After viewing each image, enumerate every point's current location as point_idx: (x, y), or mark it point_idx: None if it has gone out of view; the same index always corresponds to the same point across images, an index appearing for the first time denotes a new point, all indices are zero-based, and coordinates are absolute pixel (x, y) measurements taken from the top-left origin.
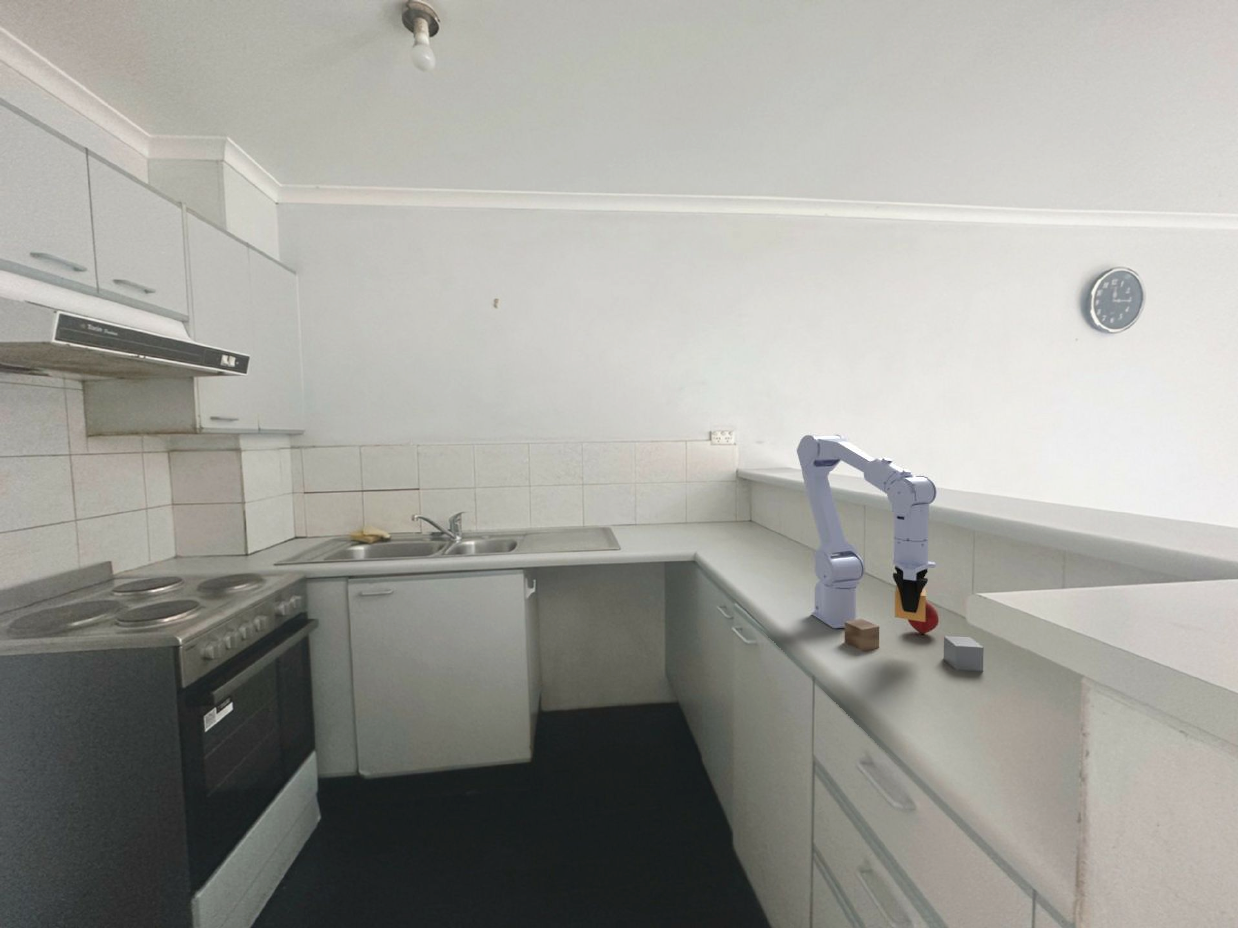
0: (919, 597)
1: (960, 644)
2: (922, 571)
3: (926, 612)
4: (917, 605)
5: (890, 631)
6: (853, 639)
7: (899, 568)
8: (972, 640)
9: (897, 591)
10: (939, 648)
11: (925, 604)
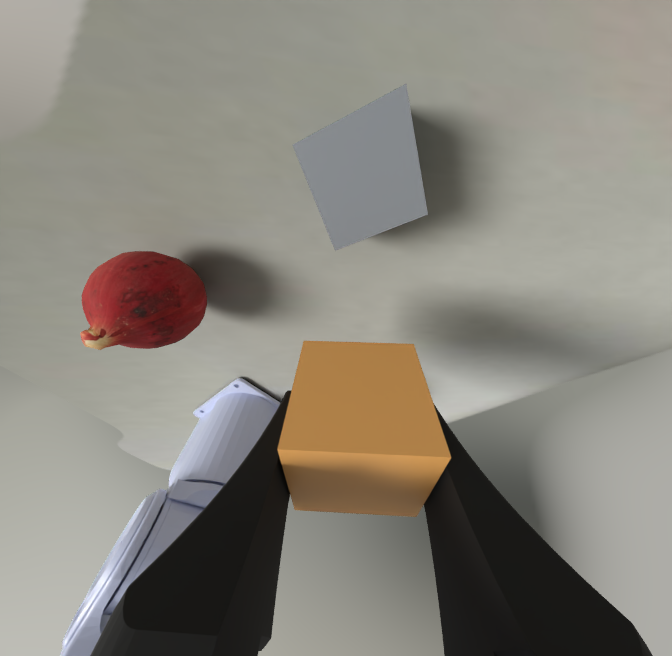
0: (480, 470)
1: (404, 195)
2: (228, 634)
3: (165, 306)
4: (446, 425)
5: (231, 337)
6: None
7: (260, 643)
8: (330, 136)
9: (405, 511)
10: (267, 235)
11: (433, 407)
